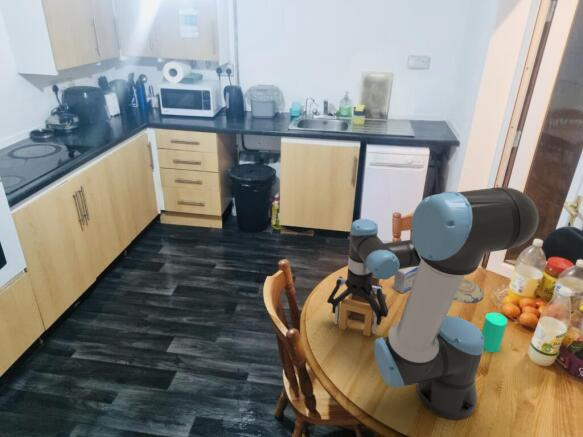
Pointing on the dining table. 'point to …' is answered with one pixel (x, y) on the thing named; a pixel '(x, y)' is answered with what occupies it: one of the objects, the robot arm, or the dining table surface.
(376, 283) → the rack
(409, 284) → the medicine box
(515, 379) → the dining table surface
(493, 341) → the candle
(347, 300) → the orange open frame
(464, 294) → the decorative bowl
